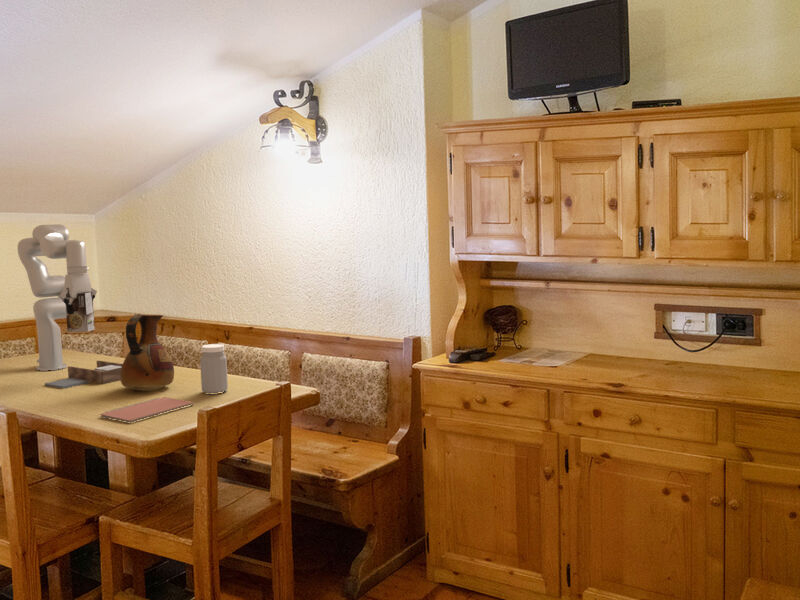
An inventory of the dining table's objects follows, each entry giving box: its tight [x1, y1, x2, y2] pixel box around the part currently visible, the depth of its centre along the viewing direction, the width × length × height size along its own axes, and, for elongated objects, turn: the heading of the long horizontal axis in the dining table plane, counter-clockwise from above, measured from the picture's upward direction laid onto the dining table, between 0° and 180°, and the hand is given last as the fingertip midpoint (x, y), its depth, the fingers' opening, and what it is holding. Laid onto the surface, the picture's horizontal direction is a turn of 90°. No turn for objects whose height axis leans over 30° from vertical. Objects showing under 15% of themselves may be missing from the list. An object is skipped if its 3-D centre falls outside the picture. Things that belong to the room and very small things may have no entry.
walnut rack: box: [67, 359, 123, 385], centre depth 317 cm, size 23×15×5 cm, turn 58°
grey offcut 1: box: [93, 365, 115, 371], centre depth 315 cm, size 4×8×5 cm, turn 145°
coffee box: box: [65, 292, 95, 333], centre depth 312 cm, size 9×6×16 cm
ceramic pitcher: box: [120, 313, 175, 392], centre depth 293 cm, size 20×20×30 cm
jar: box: [199, 343, 229, 394], centre depth 287 cm, size 10×10×18 cm
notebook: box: [99, 396, 195, 423], centre depth 261 cm, size 27×17×2 cm, turn 147°
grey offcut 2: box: [102, 366, 121, 371], centre depth 313 cm, size 4×8×5 cm, turn 148°
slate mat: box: [44, 377, 90, 389], centre depth 305 cm, size 12×12×1 cm
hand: (79, 312), depth 312 cm, fingers closed on coffee box, 8 cm apart
